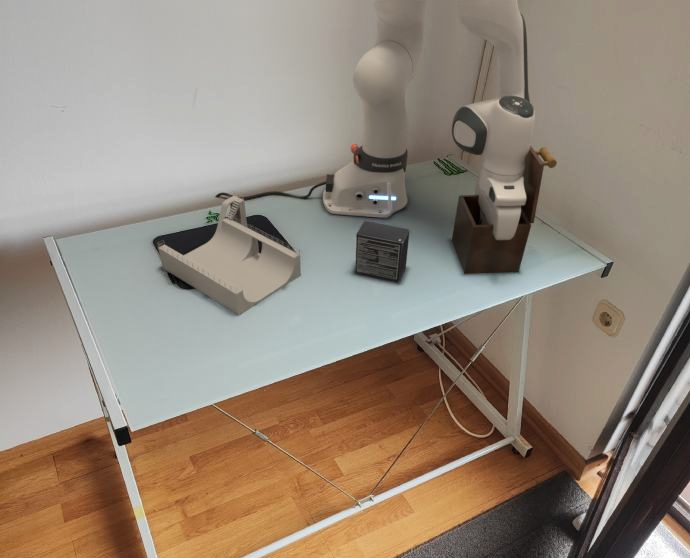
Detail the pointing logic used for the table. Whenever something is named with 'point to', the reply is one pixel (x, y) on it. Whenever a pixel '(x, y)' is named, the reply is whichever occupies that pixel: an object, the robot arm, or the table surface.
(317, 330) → the table surface
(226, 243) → the skate ramp
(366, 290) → the table surface
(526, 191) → the box lid
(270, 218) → the table surface
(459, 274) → the table surface
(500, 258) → the storage box
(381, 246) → the small box
